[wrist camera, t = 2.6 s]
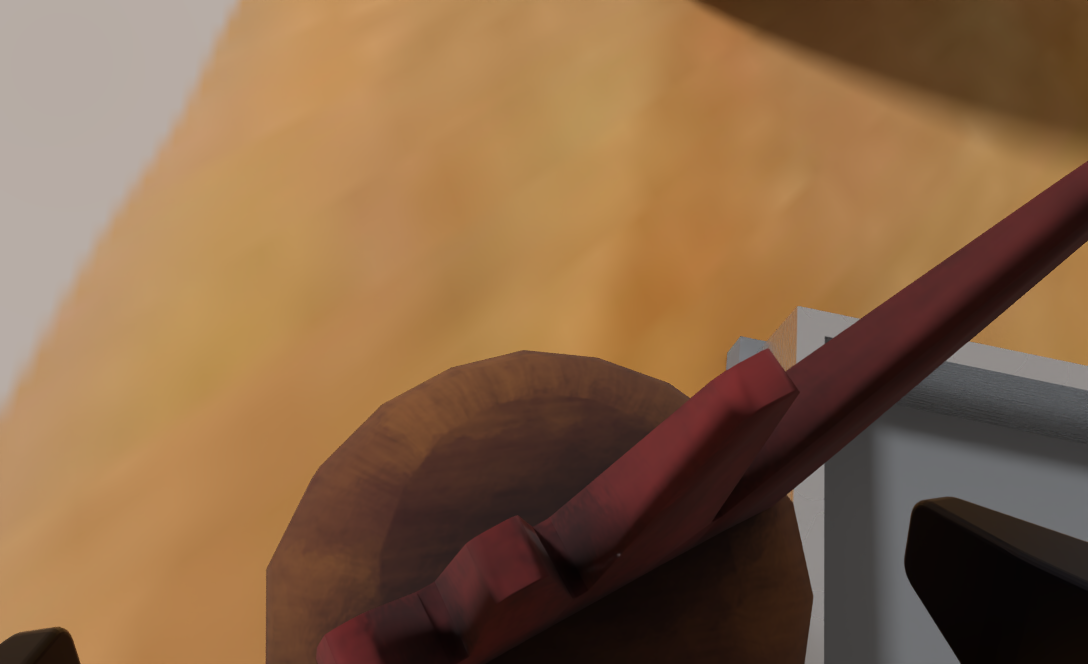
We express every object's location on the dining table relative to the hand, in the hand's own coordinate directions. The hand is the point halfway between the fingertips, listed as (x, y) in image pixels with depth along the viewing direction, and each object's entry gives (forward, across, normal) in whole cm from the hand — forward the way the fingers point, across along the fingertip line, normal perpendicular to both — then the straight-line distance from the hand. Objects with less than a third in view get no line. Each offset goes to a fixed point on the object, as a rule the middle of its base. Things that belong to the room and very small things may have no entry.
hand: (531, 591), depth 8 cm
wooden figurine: (+6, 0, +6) cm, 9 cm away
